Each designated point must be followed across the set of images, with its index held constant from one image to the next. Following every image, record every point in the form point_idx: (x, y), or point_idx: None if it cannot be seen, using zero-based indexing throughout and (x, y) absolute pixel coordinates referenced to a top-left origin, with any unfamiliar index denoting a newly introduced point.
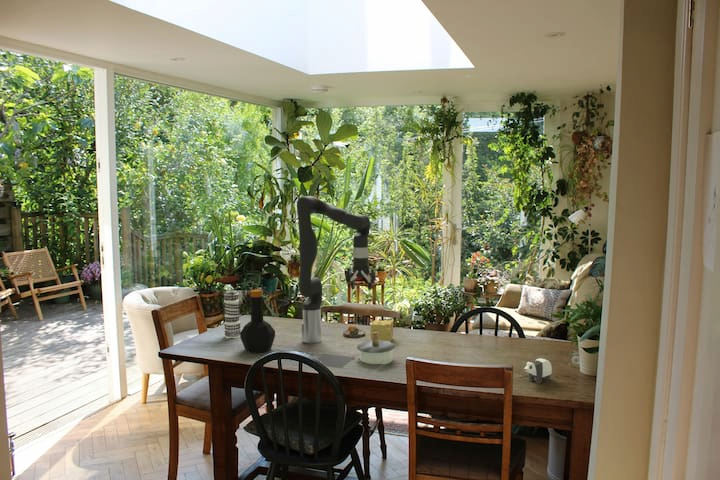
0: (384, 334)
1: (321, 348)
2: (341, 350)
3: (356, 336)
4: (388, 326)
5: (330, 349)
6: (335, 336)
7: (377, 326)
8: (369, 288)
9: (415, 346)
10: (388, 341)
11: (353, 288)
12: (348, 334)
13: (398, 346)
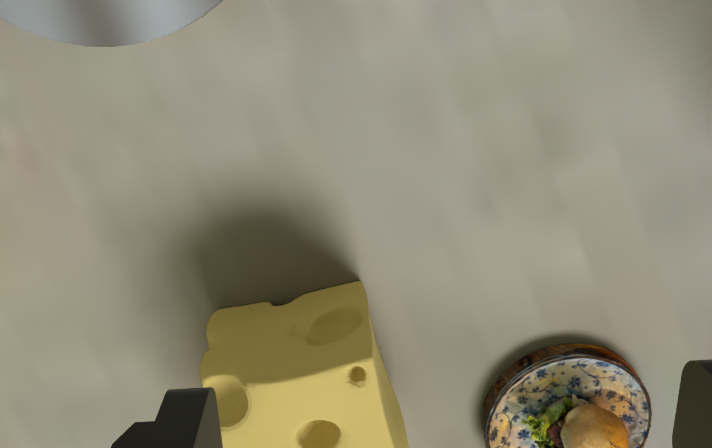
0: (251, 340)
1: (699, 4)
2: (515, 16)
3: (526, 370)
4: (224, 414)
5: (615, 7)
6: (688, 335)
7: (308, 364)
8: (161, 418)
9: (13, 325)
10: (26, 29)
11: (690, 385)
12: (603, 396)
13: (130, 280)
